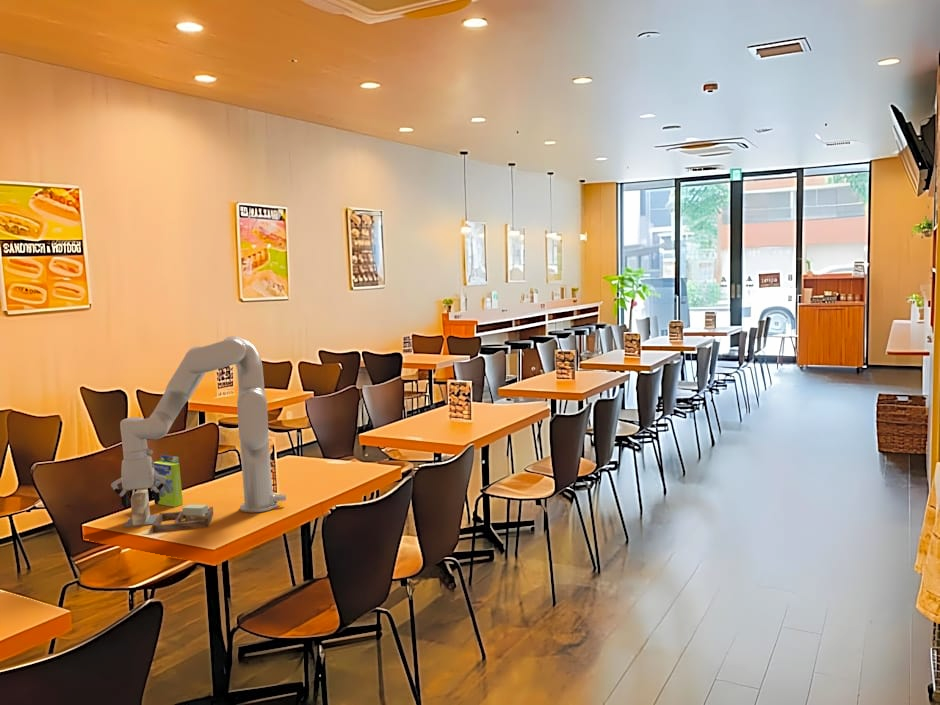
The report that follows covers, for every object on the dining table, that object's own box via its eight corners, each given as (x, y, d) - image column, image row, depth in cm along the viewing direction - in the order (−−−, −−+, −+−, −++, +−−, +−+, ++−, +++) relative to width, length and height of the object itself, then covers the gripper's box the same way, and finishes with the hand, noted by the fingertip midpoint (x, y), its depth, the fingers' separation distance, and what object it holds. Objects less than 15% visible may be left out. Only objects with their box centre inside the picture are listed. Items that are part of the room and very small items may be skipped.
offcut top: (188, 511, 263) (188, 504, 263) (208, 512, 262) (207, 505, 261) (183, 515, 260) (182, 507, 259) (202, 515, 258) (201, 508, 258)
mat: (158, 515, 269) (158, 514, 269) (152, 524, 260) (152, 523, 260) (130, 518, 268) (130, 517, 268) (123, 527, 258) (123, 526, 258)
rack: (213, 513, 269) (212, 506, 268) (208, 526, 255) (208, 518, 255) (160, 519, 265) (160, 511, 265) (152, 532, 252) (152, 524, 251)
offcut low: (200, 518, 266) (199, 509, 266) (206, 524, 258) (206, 515, 258) (186, 520, 264) (185, 512, 263) (192, 527, 256) (191, 518, 256)
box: (155, 504, 284) (151, 456, 282) (165, 501, 287) (160, 454, 286) (174, 507, 278) (170, 459, 277) (184, 504, 282) (180, 456, 280)
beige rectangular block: (150, 515, 269) (147, 489, 268) (144, 524, 259) (141, 497, 258) (139, 516, 268) (136, 490, 267) (132, 525, 258) (130, 498, 257)
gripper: (165, 449, 267) (170, 499, 269) (110, 455, 263) (116, 505, 265) (161, 454, 259) (167, 505, 261) (105, 460, 256) (111, 511, 258)
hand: (141, 505), depth 263 cm, fingers open, 9 cm apart
